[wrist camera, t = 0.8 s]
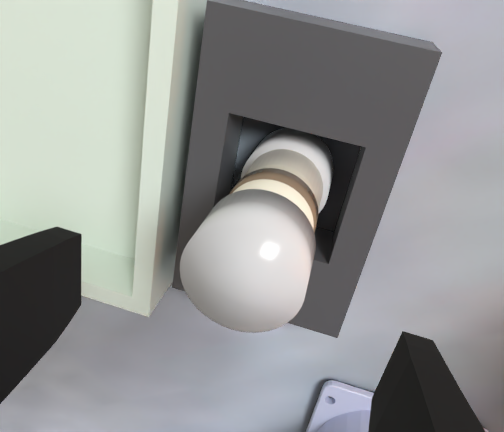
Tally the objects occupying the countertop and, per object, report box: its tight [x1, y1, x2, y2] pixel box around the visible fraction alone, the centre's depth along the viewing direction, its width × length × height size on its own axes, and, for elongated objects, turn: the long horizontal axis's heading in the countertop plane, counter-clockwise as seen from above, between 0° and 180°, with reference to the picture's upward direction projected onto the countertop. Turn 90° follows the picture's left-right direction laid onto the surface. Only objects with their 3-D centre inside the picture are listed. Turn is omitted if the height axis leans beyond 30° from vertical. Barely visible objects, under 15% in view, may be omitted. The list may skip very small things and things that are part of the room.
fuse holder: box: [172, 0, 442, 338], centre depth 17 cm, size 11×7×2 cm, turn 169°
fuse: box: [180, 128, 334, 333], centre depth 15 cm, size 3×3×8 cm
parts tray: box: [0, 0, 207, 317], centre depth 17 cm, size 20×14×3 cm
